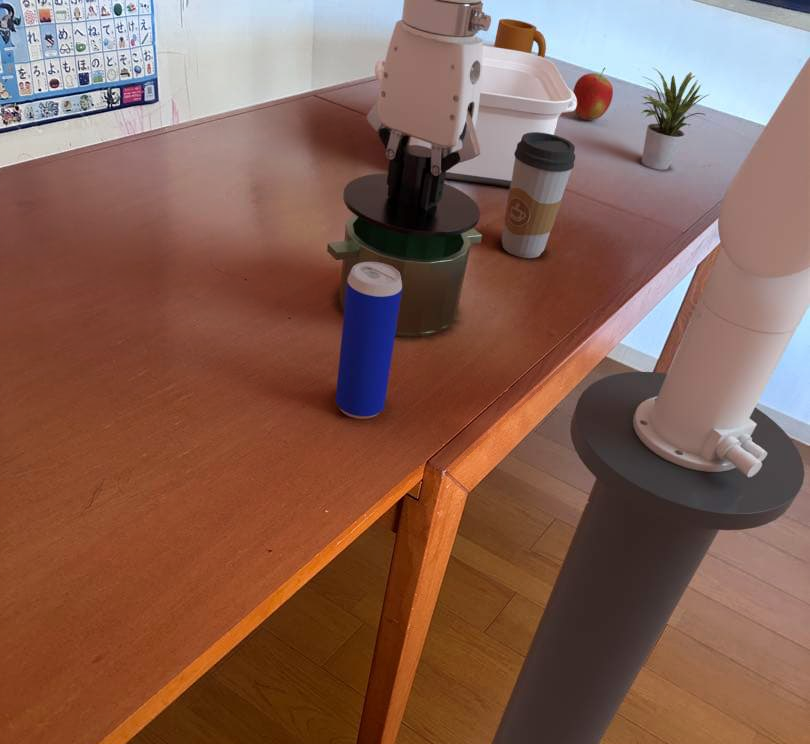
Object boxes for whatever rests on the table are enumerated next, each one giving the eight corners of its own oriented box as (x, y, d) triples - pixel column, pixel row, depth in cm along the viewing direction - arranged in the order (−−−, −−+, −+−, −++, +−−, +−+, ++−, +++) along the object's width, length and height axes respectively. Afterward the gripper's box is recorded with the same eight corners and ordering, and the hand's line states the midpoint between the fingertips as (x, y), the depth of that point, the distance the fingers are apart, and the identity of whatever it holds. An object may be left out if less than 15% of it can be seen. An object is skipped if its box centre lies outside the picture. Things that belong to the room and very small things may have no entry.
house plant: (622, 142, 164) (650, 51, 152) (690, 160, 162) (724, 68, 150) (612, 163, 153) (641, 67, 142) (684, 182, 151) (719, 86, 140)
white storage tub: (366, 177, 131) (377, 76, 121) (367, 119, 152) (376, 28, 142) (570, 203, 136) (596, 108, 125) (543, 143, 156) (564, 57, 146)
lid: (504, 235, 93) (518, 175, 88) (384, 249, 86) (393, 185, 81) (432, 179, 102) (442, 122, 97) (319, 187, 95) (323, 127, 90)
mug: (530, 79, 188) (540, 35, 182) (484, 65, 191) (492, 21, 185) (544, 73, 194) (554, 29, 188) (499, 59, 197) (508, 16, 191)
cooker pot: (494, 323, 102) (512, 251, 96) (354, 349, 94) (363, 271, 87) (434, 270, 111) (446, 200, 104) (300, 288, 102) (304, 214, 95)
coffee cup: (482, 243, 119) (505, 135, 109) (517, 231, 124) (543, 127, 114) (526, 266, 116) (554, 157, 105) (560, 254, 120) (590, 148, 110)
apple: (573, 109, 175) (587, 58, 168) (609, 120, 173) (624, 68, 167) (562, 118, 170) (575, 65, 163) (598, 129, 168) (614, 75, 161)
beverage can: (393, 411, 86) (415, 278, 75) (357, 427, 83) (374, 291, 73) (361, 387, 88) (377, 255, 78) (324, 402, 85) (336, 267, 75)
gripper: (530, 32, 81) (490, 215, 93) (388, -10, 85) (368, 169, 98) (499, 43, 76) (461, 234, 88) (349, -3, 80) (333, 185, 93)
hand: (412, 198), depth 93 cm, fingers closed on lid, 3 cm apart
